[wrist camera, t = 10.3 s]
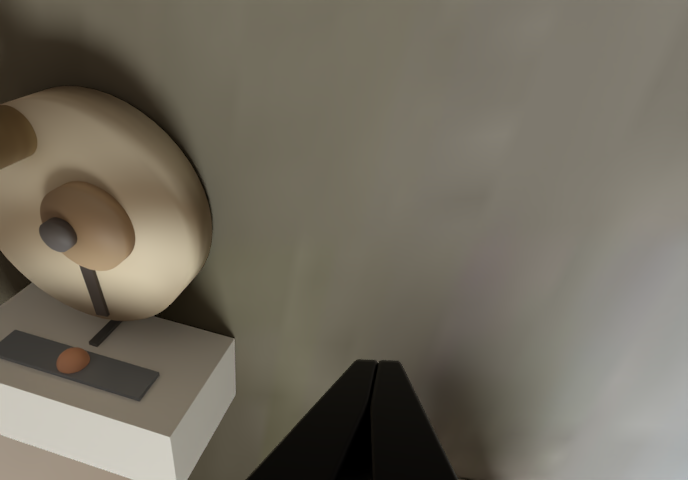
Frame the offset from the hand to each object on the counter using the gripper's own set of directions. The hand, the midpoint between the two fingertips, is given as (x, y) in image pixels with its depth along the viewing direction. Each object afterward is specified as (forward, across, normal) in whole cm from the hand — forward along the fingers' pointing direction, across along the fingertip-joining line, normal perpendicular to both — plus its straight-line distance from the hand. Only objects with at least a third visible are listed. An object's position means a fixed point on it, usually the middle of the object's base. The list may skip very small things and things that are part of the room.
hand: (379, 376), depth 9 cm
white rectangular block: (+14, -18, -14) cm, 27 cm away
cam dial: (+14, -16, -4) cm, 22 cm away
